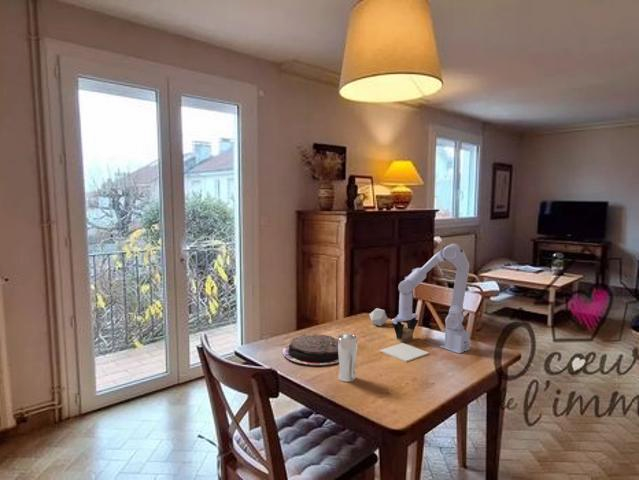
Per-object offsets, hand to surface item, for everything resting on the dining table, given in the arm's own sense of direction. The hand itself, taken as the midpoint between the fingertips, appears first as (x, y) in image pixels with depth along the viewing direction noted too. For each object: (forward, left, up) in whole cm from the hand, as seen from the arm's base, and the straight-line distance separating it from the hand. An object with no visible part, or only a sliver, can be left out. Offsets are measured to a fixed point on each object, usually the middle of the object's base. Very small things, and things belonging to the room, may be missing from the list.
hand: (404, 336), depth 187 cm
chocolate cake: (+11, +41, -2) cm, 43 cm away
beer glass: (-14, +47, -2) cm, 49 cm away
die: (+23, -7, -2) cm, 24 cm away
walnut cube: (0, 0, -2) cm, 2 cm away
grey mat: (-10, +12, -2) cm, 16 cm away
